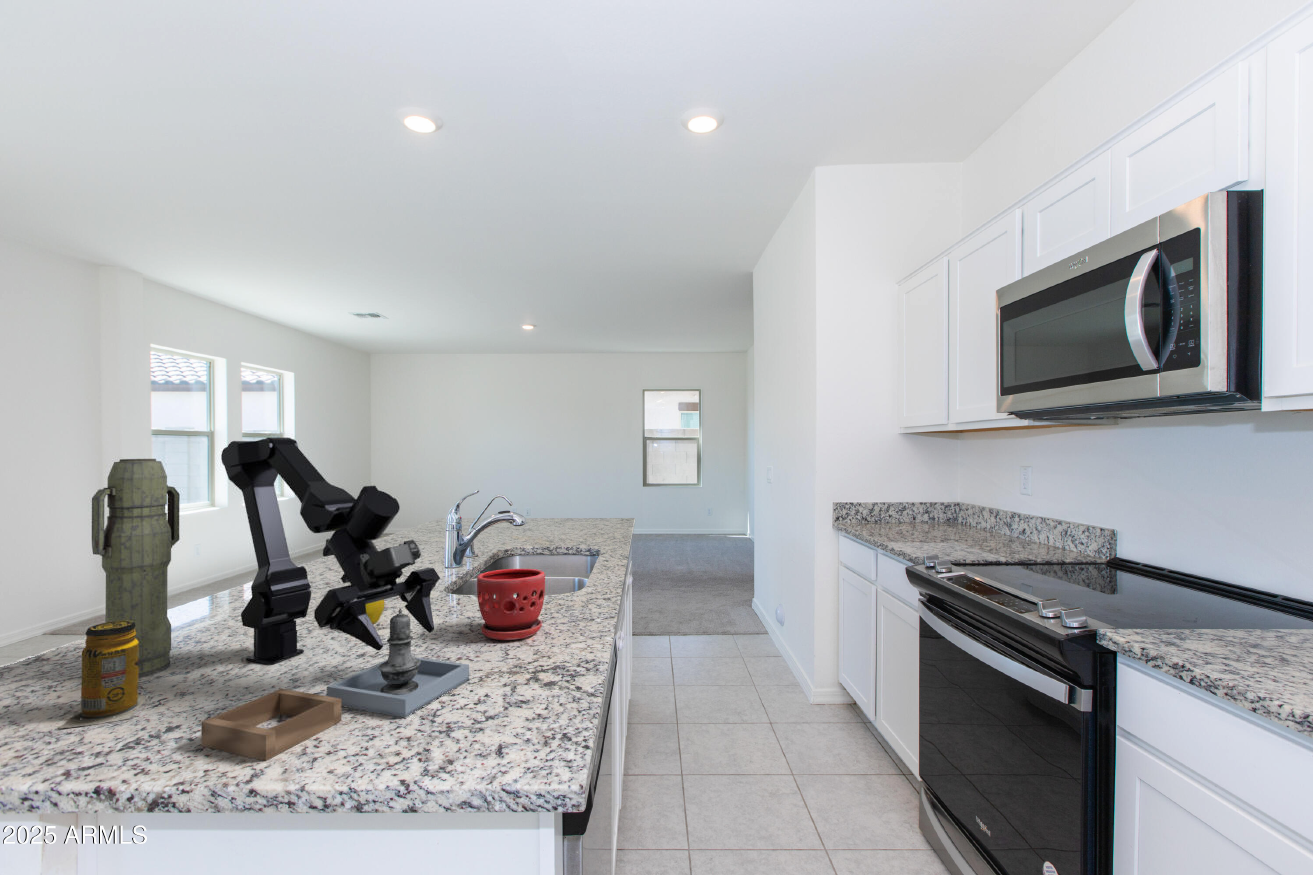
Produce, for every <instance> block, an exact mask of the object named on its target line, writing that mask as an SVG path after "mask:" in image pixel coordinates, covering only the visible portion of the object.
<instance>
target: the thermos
mask: <svg viewBox="0 0 1313 875" xmlns="http://www.w3.org/2000/svg"><path fill="white" fill-rule="evenodd" d="M180 495H181V494H180V492H179V491H178V490H177V489H176V488H175V487H174V486H169V485H168V474H167V472H166V470H165V468H164V466H163V462H162V461H160V460H157V459H156V458H124V459H123V458H119V461H114V462H113V465H112V466H111V469H110V471H109V472H108V476H107V486H106V487H103V488H102V489H101V488H99V489H98V490H97V491H96V493H95V494H94V495H93V496H92V497H91V549H92V555H95V556H97V555H99V557H101V568H102V570H103V571H104V573H105V619H104V620H105V621H104V623H106V622H112V621H123V620H125V621H133V622H135V625H136V626H135V632H136V636H135V638H136V639H137V640H138V642H139V656H138V658H139V659H138V665H139V667H138V670H139V672H138V673H139V674H138V676H139V677H138V678H144V677H147V676H150V675H153V674H157V673H160V672H162V671H164V670H166V669H168V668H169V667H170V665H171V660H170V654H171V651H172V623H171V622H170V620H169V617H168V568H169V565H170V563H171V561H172V549H173V546H175V545H176V544H177V543H178V541H180V501H181V500H180ZM106 496H107V498H106ZM105 498H106V499H107V504H106V505H107V508H108V515H107V517H106V519H107V520H106V521H107V522H106V525H105ZM166 505H167V512H166Z"/></svg>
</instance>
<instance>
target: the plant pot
mask: <svg viewBox="0 0 1313 875" xmlns="http://www.w3.org/2000/svg"><path fill="white" fill-rule="evenodd" d="M545 573H546V572H544V571H543V570H540V569H534V568H507V569H498V570H497V569H496V570H490V571H487V572H483V573H480V574H478V575H477V577H476V596H477V604H478V608H479V613H480V615H481V618H482V620H483V621H484V623H483V624H482V626H481V628H480V629H481V632H482V634H484V636H486V637H487V638H490V639H493V640H499V641H512V640H515V641H516V640H525V639H526V638H529V637H530V636H533V635H535V634H537V633H538V632H539V631H540V630H541V628H542V626H543V622H542V620H541V619H539V617H540V614H541V613H542V609H543V607H544V602H545V601H544V600H545V595H546V594H545V592H546V575H545ZM515 594H516V597H514V595H515Z"/></svg>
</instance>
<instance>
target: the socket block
mask: <svg viewBox="0 0 1313 875" xmlns="http://www.w3.org/2000/svg"><path fill="white" fill-rule="evenodd" d="M284 715H287V716H286V717H290V716H293V717H291V718H288V719H286V720H284V721H282V722H281V723H278V724H276V725H274V726H271V727H270V728H264V727H258V725H260V724H263V723H265V722H268V721H269V720H271V719H274V718H275V717H278V716H284ZM340 721H341V722H342V707H341V699H340V698H334V697H328V696H327V695H320V694H315V693H311V692H310V693H309V692H303V691H300V690H299V691H298V690H292V689H288V688H287V689H286V688H279V689H277V690H275V691H274V690H273V691H272V692H269V693H267V694H265V695H261V696H260V697H257V698H256V699H252V700H250V701H248V702H245V703H243V704H241V705H239V706H238V705H237V706H235V707H234V708H231V709H229V710H226V711H223V712H221V713H220V714H216V715H214V716H211V717H210V718H207V719H205V720H202V721H201V722H200V723H201V724H200V725H201V729H200V730H201V734H200V736H201V737H200V738H201V740H200V741H201V744H200V745H201V747H204V748H209V749H213V750H218V751H222V752H225V753H230V754H234V755H239V756H243V757H247V758H248V757H249V758H251V759H256V760H260V761H264V762H266V761H269V760H270V759H273V758H274V757H276V756H277V755H280V754H283V753H284V752H286V751H287V750H289V749H292V748H293V747H295V746H297V745H299V744H301V743H303V742H305V741H306V740H308V739H310V738H312V737H313V736H316V735H317V734H320V733H322V732H324V731H325V730H327V729H330V728H331V727H333V726H335V725H337V724H339V723H341V722H340Z"/></svg>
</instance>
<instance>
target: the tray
mask: <svg viewBox="0 0 1313 875" xmlns="http://www.w3.org/2000/svg"><path fill="white" fill-rule="evenodd" d="M412 657H413V658H416V659H419V660H420V661H421V664H420V665H419V669H418V672H417V674H416V676H415V677H414V678H413V679H412V680H413V681H415V682H417V683H418V685H419V686H418V688H417V689H416V690H414V691H412V692H410V693H406V694H402V695H392V694H386V693H381V688H382V687H383V686H385V685H386V684H388V683H387V682H386V681H385V680H384V679H383V678H382V675H381V671H380V670H379V666H380V665H381V664H382V663H384V662H386V661H387V660H388V658H387V659H386V660H383V661H380V662H379V663H376V664H374V665H372V666H370V667H368V668H365V669H362V670H360V671H358V672H357V673H354V674H352V675H349V676H348V677H345V678H343V679H339V680H338V681H336V682H333V683H331V684H329V685H327V686H326V696H328V697H334V698H340V699H341V706H346V707H349V708H348V709H352V708H354V709H353V710H359V711H363V710H365V711H364V712H369V713H376V714H380V713H382V714H381V715H385V714H386V716H392V717H398V718H402V717H407V716H408V717H410V716H411V715H410V714H411V713H413V714H415V713H416V712H415V711H417V710H418V711H420V710H421V709H420V708H422V707H423V706H425V705H427V704H429V703H430V702H432V701H433V700H435V699H437V698H439V697H440V696H442V695H444V694H445V695H447V694H448V693H447V692H449V691H450V692H452V691H453V690H452V689H454V690H455V688H456V687H457V688H459V687H461V686H462V685H464V684H466V683H467V682H469V681H470V664H469V663H468V664H467V663H461V662H452V661H445V660H438V659H433V658H423V657H417V656H412ZM465 682H466V683H465ZM463 683H464V684H463ZM460 685H461V686H460ZM458 686H459V687H458ZM457 688H456V689H457ZM451 690H452V691H451ZM450 692H449V693H450ZM446 693H447V694H446ZM445 695H444V696H445ZM442 697H443V696H442ZM440 698H441V697H440ZM440 698H439V699H440ZM437 700H438V699H437ZM435 701H436V700H435ZM432 703H433V702H432ZM430 704H431V703H430ZM430 704H429V705H430ZM427 706H428V705H427ZM346 707H345V708H346ZM425 707H426V706H425ZM423 708H424V707H423ZM423 708H422V709H423ZM419 709H420V710H419ZM418 711H417V712H418ZM414 712H415V713H414ZM409 715H410V716H409ZM408 717H407V718H408Z"/></svg>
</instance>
